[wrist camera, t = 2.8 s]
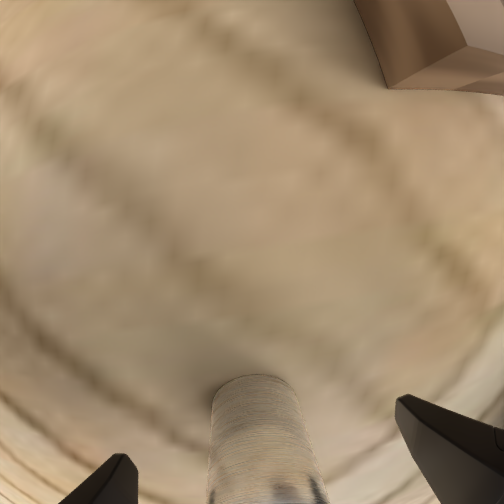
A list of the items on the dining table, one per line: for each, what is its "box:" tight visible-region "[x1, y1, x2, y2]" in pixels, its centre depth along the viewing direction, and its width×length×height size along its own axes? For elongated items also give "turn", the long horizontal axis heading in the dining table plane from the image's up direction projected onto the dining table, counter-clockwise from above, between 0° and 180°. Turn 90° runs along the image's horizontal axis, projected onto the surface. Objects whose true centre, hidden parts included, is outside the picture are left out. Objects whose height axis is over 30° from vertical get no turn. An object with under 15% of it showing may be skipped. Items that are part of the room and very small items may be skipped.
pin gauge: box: [207, 375, 330, 504], centre depth 6 cm, size 3×3×8 cm
